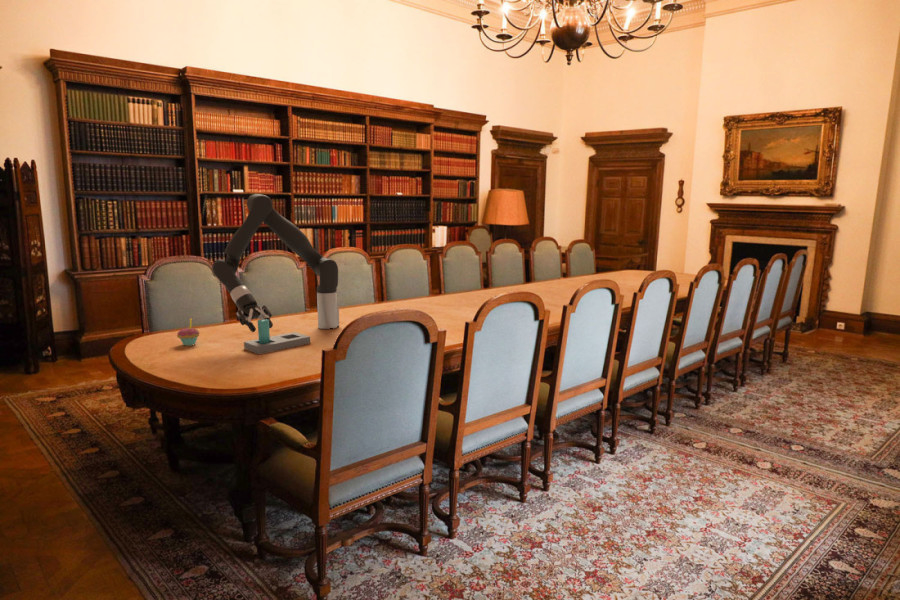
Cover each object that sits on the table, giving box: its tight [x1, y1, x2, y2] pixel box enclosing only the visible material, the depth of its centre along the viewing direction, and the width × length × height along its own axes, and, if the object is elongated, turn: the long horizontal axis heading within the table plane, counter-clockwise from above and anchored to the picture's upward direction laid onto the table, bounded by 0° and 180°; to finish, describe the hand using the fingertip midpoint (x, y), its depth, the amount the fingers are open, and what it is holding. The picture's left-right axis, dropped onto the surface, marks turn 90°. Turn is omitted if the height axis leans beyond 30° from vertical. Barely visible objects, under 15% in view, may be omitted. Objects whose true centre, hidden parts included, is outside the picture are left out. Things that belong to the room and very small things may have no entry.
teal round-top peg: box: [257, 319, 271, 344], centre depth 237 cm, size 4×4×12 cm
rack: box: [243, 331, 311, 355], centre depth 242 cm, size 24×12×3 cm, turn 137°
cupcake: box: [176, 317, 200, 346], centre depth 243 cm, size 9×8×12 cm
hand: (263, 328), depth 237 cm, fingers open, 8 cm apart
